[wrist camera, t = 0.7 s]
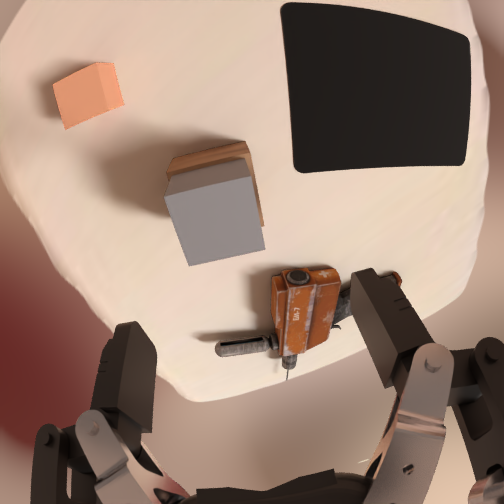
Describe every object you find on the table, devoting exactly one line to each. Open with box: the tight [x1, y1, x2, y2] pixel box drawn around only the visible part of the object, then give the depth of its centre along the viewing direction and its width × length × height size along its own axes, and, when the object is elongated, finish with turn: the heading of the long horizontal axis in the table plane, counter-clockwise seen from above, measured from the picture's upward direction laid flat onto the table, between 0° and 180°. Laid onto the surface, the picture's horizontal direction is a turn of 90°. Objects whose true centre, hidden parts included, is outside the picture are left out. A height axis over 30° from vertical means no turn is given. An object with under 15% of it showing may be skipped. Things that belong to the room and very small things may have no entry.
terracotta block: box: [52, 63, 124, 130], centre depth 22 cm, size 5×5×5 cm
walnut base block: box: [166, 141, 264, 227], centre depth 30 cm, size 8×8×5 cm
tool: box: [215, 268, 402, 380], centre depth 47 cm, size 4×27×30 cm
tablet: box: [281, 2, 471, 173], centre depth 28 cm, size 27×1×20 cm
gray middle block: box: [164, 158, 265, 266], centre depth 26 cm, size 7×7×5 cm
